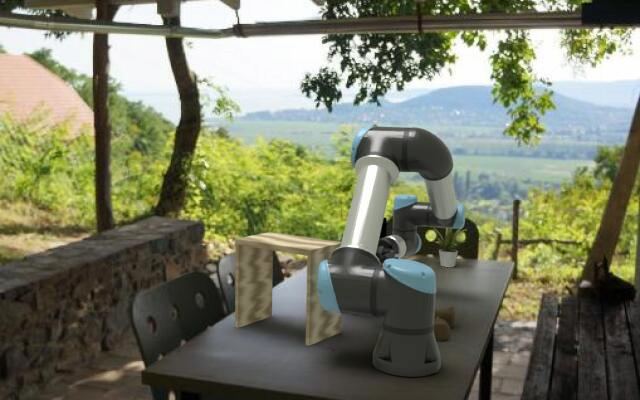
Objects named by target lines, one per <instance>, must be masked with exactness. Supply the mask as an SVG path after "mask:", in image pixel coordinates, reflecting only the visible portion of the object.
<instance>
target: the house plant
mask: <svg viewBox="0 0 640 400" xmlns="http://www.w3.org/2000/svg"><path fill="white" fill-rule="evenodd" d="M462 229H463V228H460V229H459V228H457V229H456V231H455V232H454V233H453V229H450V228H445V240H444V237H443V235H442V234H441V233H440V231H438V230H437V229H436V228H434V230H435V231H436V232H437V233H438V235H439V237H440V238H441V239H440V238H439V237H437V241H435V244H438V245H439V246H440V249H439V250H438V254H439V255H438V256H439V261H440V262H439V263H440V267H441V266H445V267H453V266H456V262H457V257H458V253H459V251H458V250H457V249H456V248H457V247H458V246H459V245H460V244H462V243H463V244H465V240H463V241H460V243H459V241H457V240H458V239H459V238H460V237H461V236H462V235H463V233H462V232H464V231H466V229H463V230H462ZM461 233H462V234H461ZM458 243H459V244H458ZM453 248H454V249H453Z"/></svg>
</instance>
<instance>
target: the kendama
mask: <svg viewBox="0 0 640 400" xmlns="http://www.w3.org/2000/svg"><path fill="white" fill-rule="evenodd" d="M455 325H456V309H455V307H454V306H449V307H446V308H444V309H437V308H436V307H435V319H434V335H435V339H436V340H445V341H447V340H449V338H450V336H451V333H452V331H451V328H452V327H453V328H454V327H455ZM449 326H451V327H449Z"/></svg>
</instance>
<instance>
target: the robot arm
mask: <svg viewBox="0 0 640 400" xmlns="http://www.w3.org/2000/svg"><path fill="white" fill-rule="evenodd" d="M350 163H351V166H352V168H353V169H354V172H355V174H356V175H357V179H356V183H355V188H354V191H353V195H352V198H351V203H350V208H349V212H348V215H347V219H346V223H345V227H344V229H343V230H344V231H343V234H342V235H343V236H342V242H341V246H340V247H338V248H336V249H335V250H334V251H333V252H332V255H331V259H330V261H329V260H323V261H322V262H321V263H320V265H319V269H318V277H317V286H318V296H319V301H320V303H321V306H322V307H323V308H324V309H325V310H327V311H331V312H337V313H339V314H346V315H354V316H355V315H356V316H363V317H364V316H365V317H374V318H376V317H377V318H381V331H380V334H379V336H378V339H377V342H376V345H375V347H374V350H373V353H372V365H373V366H374V367H375V369H376V370H379V371H381V372H383V373H386V374H389V375H392V376H399V377H408V378H411V377H413V378H416V377H418V378H419V377H424V376H425V377H426V375H427V376H430V374H431V375H434V374H435V372H436V373H438V372H439V371H440V370H441V368H440V367H442V365H441V364H442V363H441V362H442V358H441V353H440V349H439V347H438V346H439V345H438V341H436V339H435V335H434V319H435V308H436V295H437V294H436V293H437V290H438V288H437V280H436V279H437V277H436V273H435V270H434V269H432V267H430V266H428V265H427V264H425V263H421V262H419V261H415V260H410V259H405V258H406V257H410V256H413V255H415V254H417V253H418V252H420V250H421V247H422V239H421V237H420V235H419V234H418V233H417V231H418V230H417V229H418V227H429V228H441V229H446V228H448V229H449V230H450V229H452V230H453V229H460V228H462V229H463V228H464V226H465V224H466V223H465V222H466V206H465V205H464V204H462V203H461V204H460V203H457V199H456V194H455V189H454V182H453V177H452V171H453V169H454V161H453V155H452V153H451V151H450V149H449V148H448V146H447V145H446V143H445V142H444V141H443V140H442V139H440V137H438V136H437V135H436V134H434V133H433V132H431V131H429V130H428V129H424V128H421V127H414V126H413V127H406V126H405V127H404V126H402V127H401V126H379V125H373V126H365V127H363V126H362V127H361V128H360V129H358V130H357V132H355V135H354V138H353V141H352V144H351V151H350ZM400 173H418V174H419V176H420V177H421V178H423V180H424V181H423V182H424V184H425V189H426V192H427V196H428V200H429V202H427V201H425V202H424V201H419V199H418V196H417V195H416V194H415V195H414V194H397V195H395V196H394V198H393V208H392V232H391V233H392V234H391V235H388V236H387V235H386V236H387V237H384V238H380V239H379V237H380V232H381V228H382V223H383V219H384V218H385V213H386V209H387V205H388V199H389V194H390V191H391V186H392V184H394V183H395V182H396V181H397V180H398V179H399V177H400ZM460 230H461V229H460ZM439 369H440V370H439ZM438 370H439V371H438ZM437 371H438V372H437ZM433 373H434V374H433Z"/></svg>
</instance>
